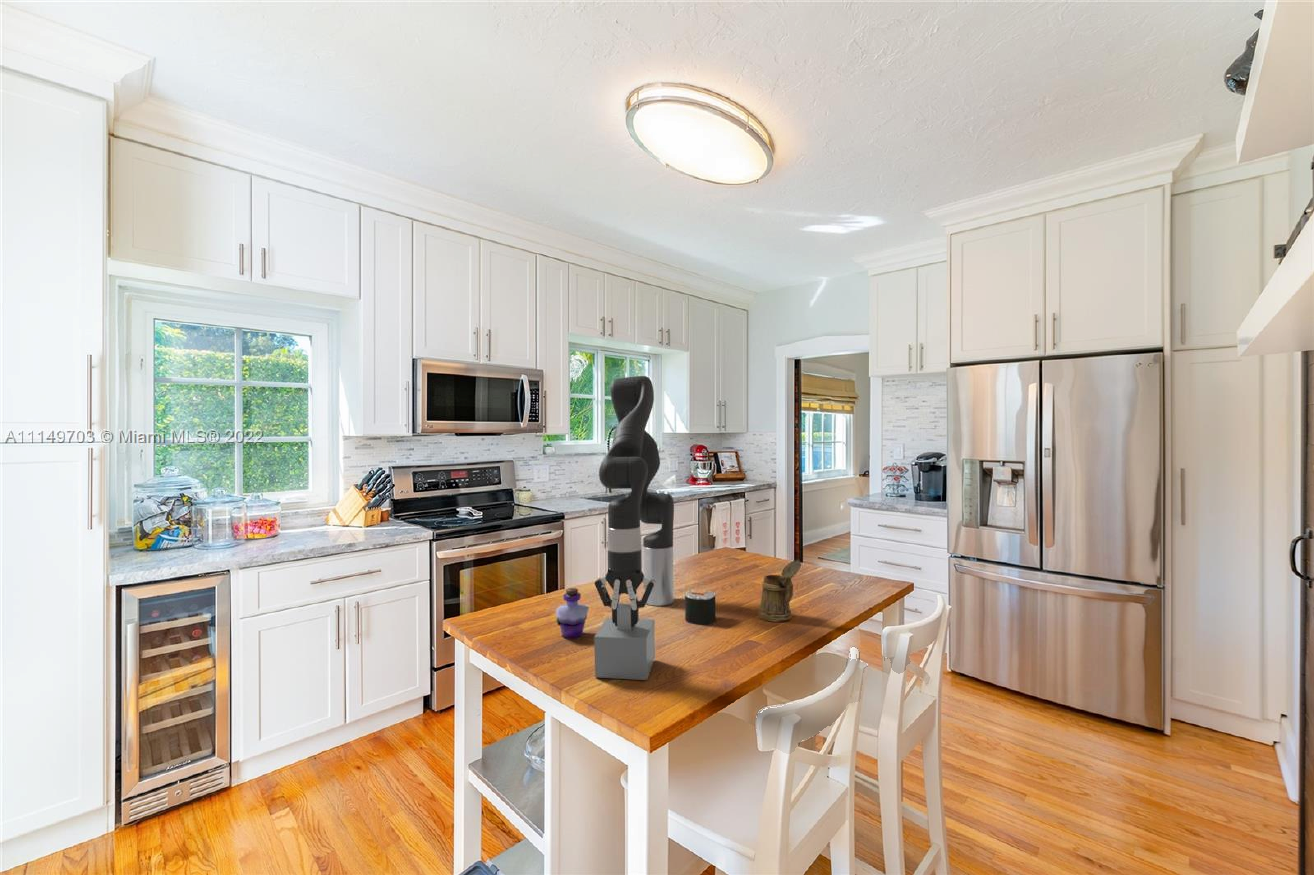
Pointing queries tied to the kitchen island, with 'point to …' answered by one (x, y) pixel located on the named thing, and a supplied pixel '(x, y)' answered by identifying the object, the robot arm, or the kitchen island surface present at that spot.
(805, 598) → the kitchen island surface
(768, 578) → the wooden mug
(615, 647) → the grey block
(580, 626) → the potion bottle
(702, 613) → the sushi
